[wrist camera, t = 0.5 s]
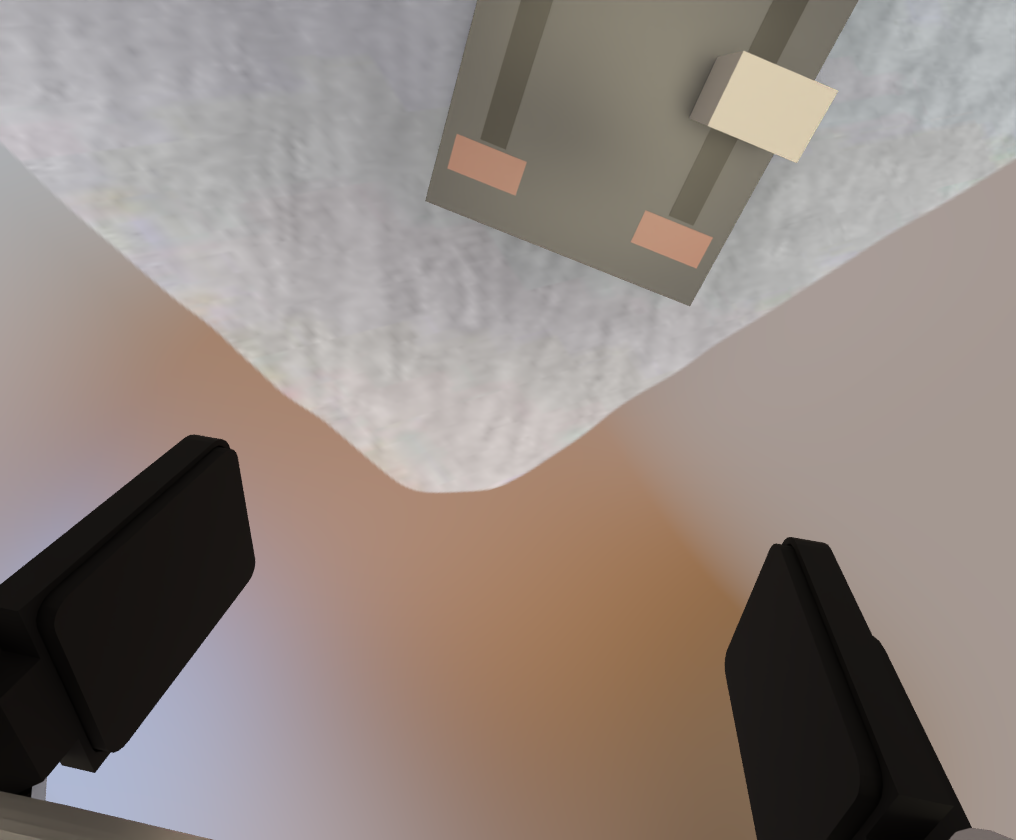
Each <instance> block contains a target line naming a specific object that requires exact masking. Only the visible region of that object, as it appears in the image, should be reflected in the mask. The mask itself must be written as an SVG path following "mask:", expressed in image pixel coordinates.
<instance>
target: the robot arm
mask: <svg viewBox="0 0 1016 840" xmlns="http://www.w3.org/2000/svg"><path fill="white" fill-rule="evenodd" d="M254 568H255V556H254V550H253V544H252V539H251V533H250V527H249V521H248V515H247V509H246V503H245V497H244V491H243V486H242V480H241V474H240V468H239V462H238V457H237V454H236V452H235V451H234V450H232V449H230V447H229V444H228V443H227V442H226V441H225V440H222V439H217V438H211V437H205V436H200V435H189V436H187V437H185V438H184V439H183V440H181V441H180V442H179V443H178V444H177V445H175V446H174V447H173V448H171V449H170V450H169V451H168V452H166V453H165V454H164V455H163V456H161V457H160V458H159V459H158V460H156V461H155V462H154V463H152V464H151V465H150V466H149V467H148V468H146V469H145V470H144V471H142V472H141V473H140V474H139V475H137V476H136V477H135V478H134V479H132V480H131V481H130V482H129V483H127V484H126V485H125V486H124V487H122V488H121V489H120V490H119V491H117V492H116V493H115V494H114V495H112V496H111V497H110V498H108V499H107V500H106V501H105V502H103V503H102V504H101V505H100V506H98V507H97V508H96V509H95V510H93V511H92V512H91V513H90V514H88V515H87V516H86V517H85V518H83V519H82V520H81V521H80V522H78V523H77V524H76V525H75V526H73V527H72V528H71V529H70V530H68V531H67V532H66V533H65V534H63V535H62V536H61V537H60V538H58V539H57V540H56V541H55V542H53V543H52V544H51V545H49V546H48V547H47V548H46V549H44V550H43V551H42V552H41V553H39V554H38V555H37V556H36V557H35V558H33V559H32V560H31V561H29V562H28V563H27V564H26V565H25V566H23V567H22V568H21V569H19V570H18V571H17V572H15V573H14V574H13V575H12V576H10V577H9V578H8V579H7V580H5V581H4V582H3V583H2V584H0V840H212V839H208V838H204V837H199V836H195V835H191V834H187V833H182V832H178V831H174V830H170V829H165V828H161V827H157V826H152V825H148V824H144V823H140V822H135V821H131V820H126V819H123V818H118V817H114V816H110V815H105V814H101V813H97V812H93V811H88V810H84V809H80V808H75V807H71V806H67V805H63V804H58V803H53V802H48V801H45V796H46V781H47V776H48V775H49V774H50V773H51V772H52V770H53V769H54V768H55V767H56V766H57V764H58V763H59V762H60V763H61V764H62V765H63V766H68V767H72V768H77V769H80V770H85V771H89V772H93V773H95V772H96V771H97V770H98V768H99V767H100V766H101V764H102V763H103V762H104V760H105V759H106V758H107V756H108V755H109V754H110V753H111V752H113V753H114V752H116V751H119V750H120V749H121V748H123V747H124V746H125V744H126V743H127V742H128V741H129V740H130V738H131V737H132V736H133V734H134V733H135V732H136V730H137V729H138V728H139V726H140V725H141V723H142V722H143V721H144V719H145V718H146V717H147V716H148V714H149V713H150V712H151V710H152V709H153V708H154V706H155V705H156V704H157V702H158V701H159V700H160V699H161V697H162V696H163V695H164V693H165V692H166V690H167V689H168V688H169V686H170V685H171V684H172V682H173V681H174V680H175V678H176V677H177V676H178V675H179V673H180V672H181V671H182V669H183V668H184V667H185V665H186V664H187V663H188V661H189V660H190V659H191V657H192V656H193V655H194V653H195V652H196V651H197V649H198V648H199V647H200V645H201V644H202V643H203V641H204V640H205V639H206V637H207V636H208V635H209V633H210V632H211V631H212V629H213V628H214V627H215V625H216V624H217V623H218V621H219V620H220V619H221V618H222V616H223V615H224V613H225V612H226V611H227V609H228V608H229V607H230V605H231V604H232V603H233V601H234V600H235V599H236V598H237V596H238V595H239V594H240V592H241V591H242V590H243V588H244V587H245V586H246V584H247V583H248V582H249V580H250V578H251V577H252V574H253V571H254ZM725 674H726V679H727V685H728V690H729V695H730V700H731V706H732V711H733V716H734V721H735V727H736V731H737V737H738V742H739V747H740V753H741V758H742V763H743V768H744V773H745V778H746V784H747V789H748V794H749V799H750V804H751V810H752V815H753V820H754V825H755V831H756V835H757V840H1013V839H1011V838H1008V837H1006V836H1003V835H1001V834H998V833H996V832H993V831H990V830H982V829H976V828H972V827H971V825H970V823H969V821H968V819H967V817H966V815H965V813H964V811H963V808H962V806H961V804H960V802H959V800H958V798H957V796H956V794H955V792H954V790H953V788H952V786H951V784H950V782H949V780H948V778H947V776H946V774H945V772H944V770H943V768H942V765H941V763H940V761H939V760H938V757H937V755H936V753H935V751H934V749H933V747H932V745H931V743H930V741H929V739H928V737H927V735H926V733H925V731H924V729H923V727H922V725H921V723H920V720H919V718H918V717H917V714H916V712H915V710H914V708H913V706H912V704H911V702H910V700H909V698H908V696H907V694H906V692H905V690H904V688H903V686H902V684H901V682H900V680H899V678H898V675H897V673H896V671H895V669H894V667H893V665H892V663H891V661H890V659H889V657H888V655H887V653H886V651H885V649H884V648H883V646H882V645H881V643H880V641H879V640H877V639H876V638H875V637H874V636H872V634H871V632H870V630H869V628H868V625H867V623H866V621H865V619H864V617H863V615H862V613H861V611H860V609H859V607H858V605H857V603H856V601H855V598H854V596H853V594H852V592H851V590H850V588H849V586H848V584H847V582H846V579H845V577H844V575H843V573H842V571H841V569H840V567H839V565H838V563H837V561H836V558H835V556H834V554H833V552H832V550H831V548H830V547H829V546H828V545H827V544H825V543H822V542H816V541H810V540H805V539H799V538H793V537H789V538H787V539H785V540H784V542H783V543H782V545H781V544H773V545H772V547H771V548H770V550H769V552H768V555H767V557H766V560H765V562H764V564H763V567H762V569H761V571H760V574H759V576H758V579H757V581H756V583H755V586H754V588H753V590H752V593H751V595H750V597H749V600H748V602H747V604H746V607H745V609H744V612H743V614H742V616H741V618H740V621H739V623H738V626H737V628H736V630H735V633H734V635H733V637H732V640H731V643H730V645H729V647H728V649H727V652H726V657H725Z"/></svg>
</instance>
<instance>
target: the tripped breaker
mask: <svg viewBox="0 0 1016 840" xmlns="http://www.w3.org/2000/svg"><path fill="white" fill-rule="evenodd" d="M837 92H838V91H837V90H835V89H833V88H830V87H828V86H825V85H823V84H821V83H818V82H816V81H814V80H811V79H809V78H807V77H804V76H802V75H800V74H797V73H795V72H793V71H790V70H788V69H786V68H783V67H781V66H778V65H776V64H774V63H771V62H769V61H767V60H764V59H762V58H760V57H757V56H755V55H753V54H750V53H748V52H746V51H740V52H736V53H732V54H728V55H723V56H719V57H717V59H716V61H715V63H714V65H713V67H712V70H711V72H710V74H709V76H708V78H707V80H706V83H705V85H704V87H703V89H702V91H701V93H700V96H699V98H698V100H697V102H696V104H695V106H694V109H693V111H692V113H691V115H690V117H689V118H690V119H692V120H695V121H697V122H699V123H702V124H704V125H707V126H709V127H711V128H714V129H716V130H719V131H721V132H723V133H726V134H728V135H731V136H733V137H735V138H738V139H740V140H743V141H745V142H747V143H750V144H752V145H755V146H757V147H759V148H762V149H764V150H767V151H769V152H771V153H774V154H776V155H779V156H781V157H783V158H786V159H788V160H791V161H793V162H796V163H797V162H798V160H799V158H800V157H801V155H802V153H803V151H804V150H805V148H806V146H807V144H808V143H809V141H810V139H811V138H812V136H813V134H814V132H815V131H816V129H817V127H818V125H819V124H820V122H821V120H822V118H823V117H824V115H825V113H826V111H827V110H828V108H829V106H830V104H831V103H832V101H833V99H834V98H835V96H836V94H837Z"/></svg>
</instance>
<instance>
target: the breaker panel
mask: <svg viewBox="0 0 1016 840" xmlns="http://www.w3.org/2000/svg"><path fill="white" fill-rule="evenodd" d="M857 2H858V0H477V4H476V8H475V12H474V15H473V19H472V23H471V27H470V31H469V35H468V38H467V42H466V46H465V50H464V54H463V58H462V62H461V65H460V69H459V73H458V77H457V81H456V85H455V89H454V92H453V96H452V100H451V104H450V108H449V112H448V116H447V119H446V123H445V127H444V131H443V135H442V139H441V143H440V146H439V150H438V154H437V158H436V162H435V166H434V170H433V173H432V177H431V181H430V185H429V189H428V193H427V197H426V200H425V201H427V202H429V203H432V204H434V205H437V206H439V207H442V208H444V209H447V210H449V211H452V212H455V213H457V214H460V215H462V216H465V217H467V218H470V219H472V220H475V221H477V222H480V223H482V224H485V225H487V226H490V227H492V228H495V229H497V230H500V231H502V232H505V233H507V234H510V235H512V236H515V237H517V238H520V239H522V240H525V241H527V242H530V243H532V244H535V245H537V246H540V247H542V248H545V249H547V250H550V251H552V252H555V253H557V254H560V255H563V256H565V257H568V258H570V259H573V260H575V261H578V262H580V263H583V264H585V265H588V266H590V267H593V268H595V269H598V270H600V271H603V272H605V273H608V274H610V275H613V276H615V277H618V278H620V279H623V280H625V281H628V282H630V283H633V284H635V285H638V286H640V287H643V288H645V289H648V290H650V291H653V292H655V293H658V294H660V295H663V296H665V297H668V298H670V299H673V300H676V301H678V302H681V303H683V304H686V305H688V306H690V305H691V303H692V302H693V300H694V298H695V296H696V294H697V292H698V291H699V289H700V287H701V285H702V283H703V282H704V280H705V278H706V276H707V274H708V273H709V271H710V269H711V267H712V265H713V263H714V262H715V260H716V258H717V256H718V254H719V253H720V251H721V249H722V247H723V245H724V243H725V242H726V240H727V238H728V236H729V234H730V233H731V231H732V229H733V227H734V225H735V223H736V222H737V220H738V218H739V216H740V214H741V213H742V211H743V209H744V207H745V205H746V204H747V202H748V200H749V198H750V196H751V194H752V193H753V191H754V189H755V187H756V185H757V184H758V182H759V180H760V178H761V176H762V174H763V173H764V171H765V169H766V167H767V165H768V164H769V162H770V160H771V158H772V156H773V154H774V153H771V152H769V151H767V150H764V149H762V148H759V147H757V146H755V145H752V144H750V143H747V142H745V141H743V140H740V139H738V138H735V137H733V136H731V135H728V134H726V133H723V132H721V131H719V130H716V129H714V128H711V127H709V126H707V125H704V124H702V123H699V122H697V121H695V120H692V119H690V118H689V117H690V115H691V113H692V111H693V109H694V106H695V104H696V102H697V100H698V98H699V96H700V93H701V91H702V89H703V87H704V85H705V83H706V80H707V78H708V76H709V74H710V72H711V70H712V67H713V65H714V63H715V61H716V59H717V57H719V56H723V55H728V54H732V53H736V52H740V51H746V52H748V53H750V54H753V55H755V56H757V57H760V58H762V59H764V60H767V61H769V62H771V63H774V64H776V65H778V66H781V67H783V68H786V69H788V70H790V71H793V72H795V73H797V74H800V75H802V76H804V77H807V78H809V79H811V80H815V78H816V76H817V75H818V73H819V71H820V69H821V67H822V65H823V64H824V62H825V60H826V58H827V56H828V55H829V53H830V51H831V49H832V47H833V46H834V44H835V42H836V40H837V38H838V36H839V35H840V33H841V31H842V29H843V27H844V26H845V24H846V22H847V20H848V18H849V16H850V15H851V13H852V11H853V9H854V7H855V6H856V4H857Z"/></svg>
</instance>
